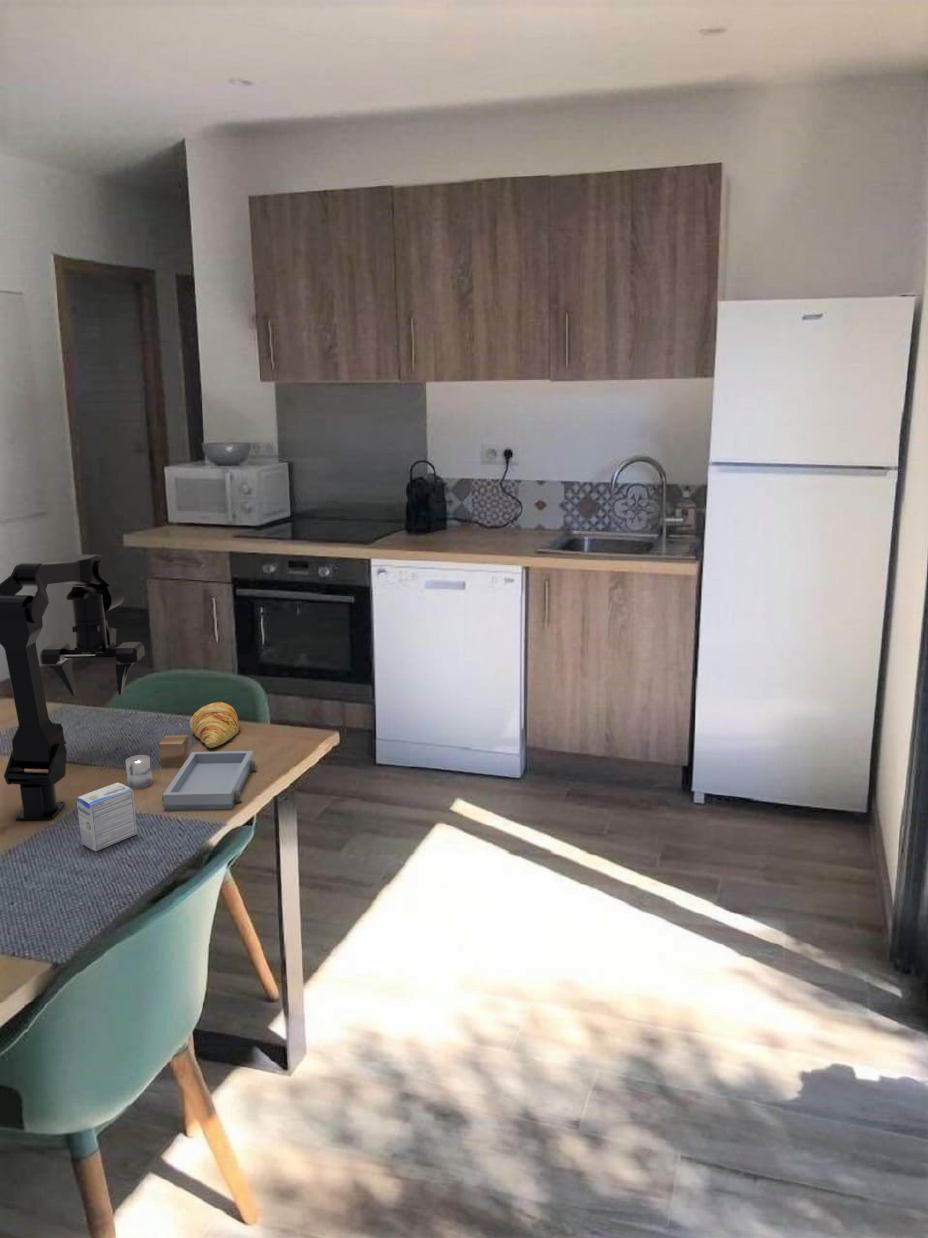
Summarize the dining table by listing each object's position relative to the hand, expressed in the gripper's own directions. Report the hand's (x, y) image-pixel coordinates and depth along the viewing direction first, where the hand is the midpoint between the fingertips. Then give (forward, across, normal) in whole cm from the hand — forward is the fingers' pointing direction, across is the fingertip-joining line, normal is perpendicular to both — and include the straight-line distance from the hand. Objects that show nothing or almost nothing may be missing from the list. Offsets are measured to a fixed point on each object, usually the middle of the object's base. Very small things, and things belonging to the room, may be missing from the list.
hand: (97, 694), depth 197 cm
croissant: (+14, -19, -13) cm, 27 cm away
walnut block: (+14, -15, +2) cm, 21 cm away
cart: (+14, -25, +15) cm, 32 cm away
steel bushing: (+14, -11, +12) cm, 22 cm away
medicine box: (+15, -12, +36) cm, 40 cm away
